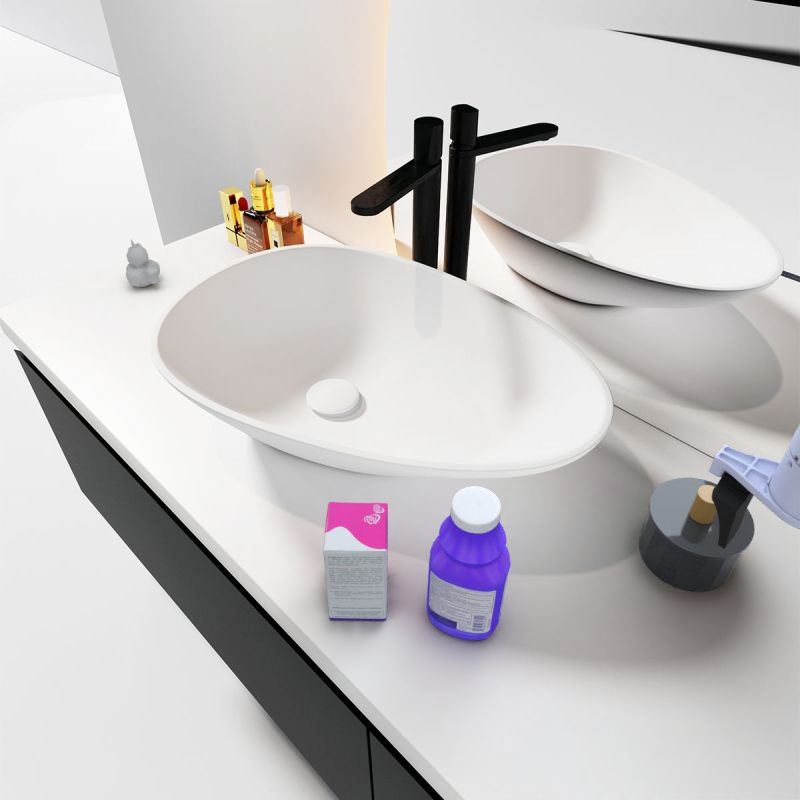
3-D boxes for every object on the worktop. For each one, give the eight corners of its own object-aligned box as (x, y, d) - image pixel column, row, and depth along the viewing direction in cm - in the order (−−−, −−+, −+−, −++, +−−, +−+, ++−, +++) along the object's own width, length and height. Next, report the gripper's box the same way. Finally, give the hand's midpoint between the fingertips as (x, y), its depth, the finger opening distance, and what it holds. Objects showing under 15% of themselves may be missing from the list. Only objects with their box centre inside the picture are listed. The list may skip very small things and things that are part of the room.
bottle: (506, 602, 70) (526, 488, 58) (492, 653, 66) (511, 542, 54) (436, 582, 71) (442, 468, 60) (419, 630, 67) (421, 518, 56)
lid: (768, 520, 70) (783, 493, 67) (723, 582, 65) (737, 555, 62) (676, 469, 76) (687, 441, 73) (628, 522, 70) (637, 495, 67)
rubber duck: (147, 271, 116) (134, 227, 111) (174, 283, 114) (162, 239, 108) (120, 285, 113) (106, 241, 108) (147, 298, 110) (134, 254, 105)
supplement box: (388, 622, 68) (386, 552, 60) (328, 621, 68) (318, 552, 61) (390, 571, 72) (388, 500, 65) (333, 571, 72) (324, 500, 65)
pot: (747, 552, 74) (766, 517, 70) (705, 609, 69) (723, 574, 65) (666, 504, 79) (679, 468, 75) (622, 553, 74) (634, 519, 70)
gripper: (957, 479, 50) (873, 587, 59) (758, 387, 57) (710, 495, 66) (928, 537, 46) (842, 642, 55) (718, 430, 54) (674, 538, 63)
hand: (768, 565), depth 61 cm, fingers open, 7 cm apart
